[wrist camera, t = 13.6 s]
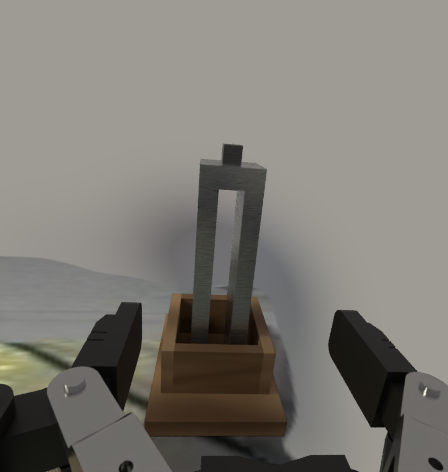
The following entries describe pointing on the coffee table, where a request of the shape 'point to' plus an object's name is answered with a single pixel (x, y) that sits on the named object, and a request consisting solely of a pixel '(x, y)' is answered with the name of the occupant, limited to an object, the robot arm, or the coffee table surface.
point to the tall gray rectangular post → (243, 244)
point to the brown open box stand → (214, 378)
